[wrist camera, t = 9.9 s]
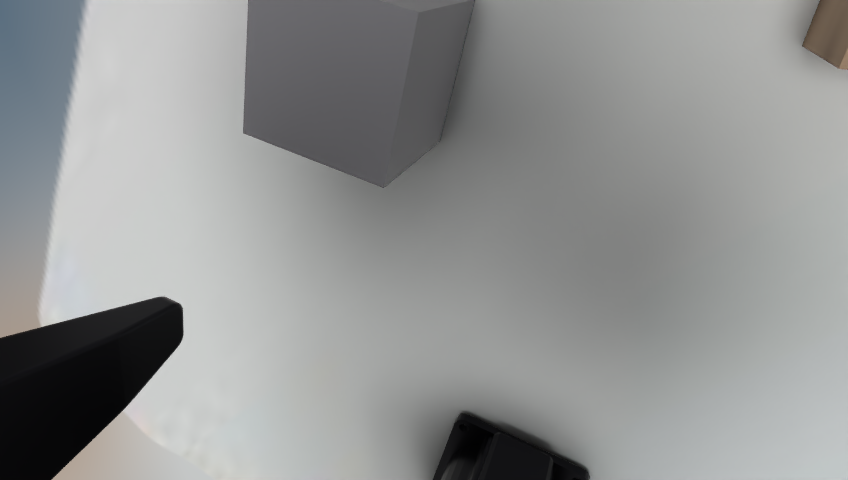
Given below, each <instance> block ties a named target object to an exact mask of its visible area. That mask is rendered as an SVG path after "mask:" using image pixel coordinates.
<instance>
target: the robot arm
mask: <svg viewBox="0 0 848 480" xmlns="http://www.w3.org/2000/svg"><path fill="white" fill-rule="evenodd" d="M182 338H183V308H182V306H181V304H179V303H177V302H175V301H173V300H171V299H169V298H167V297H156V298H152V299H148V300H145V301H141V302H137V303H133V304H129V305H125V306H121V307H118V308H114V309H110V310H106V311H102V312H98V313H94V314H91V315H87V316H83V317H79V318H75V319H71V320H67V321H64V322H60V323H56V324H52V325H48V326H44V327H40V328H37V329H33V330H29V331H25V332H21V333H17V334H14V335H10V336H6V337H2V338H0V480H51V479H53V477H55V476H56V475H57V474H58V473H59V472H60V471H61V470H62V469H63V467H65V466H66V465H67V464H68V463H69V462H70V461H71V460H72V459H73V458H74V457H75V456H76V455H77V454H78V453H79V452H80V451H81V450H83V449H84V448H85V447H86V446H87V445H88V444H89V443H90V442H91V441H92V439H94V438H95V437H96V436H97V435H98V434H99V433H100V432H101V431H102V430H103V429H104V428H105V427H106V426H107V425H108V424H109V423H110V422H111V421H112V420H113V419H115V417H117V416H118V414H120V413H121V412H122V411H123V410H124V409H125V408H126V407H127V405H128V404H129V403H130V402H131V401H132V400H133V399H134V398H135V397H136V395H137V394H138V393H139V392H140V391H141V390H142V388H143V387H144V386H145V385H146V384H147V382H148V381H149V380H150V379H151V378H152V377H153V375H154V374H155V373H156V372H157V371H158V370H159V368H160V367H161V366H162V365H163V364H164V363H165V361H166V360H167V359H168V358H169V357H170V355H171V354H172V353H173V352H174V351H175V350H176V348H177V347H178V346H179V344H180V343H181V341H182ZM464 424H466V425H467V426H466V425H464ZM577 478H579V479H577ZM589 478H590V476H589V474H588V472H587V471H586V470H584V469H583V468H581V467H579V466H576V465H574V464H572V463H570V462H568V461H566V460H564V459H562V458H559V457H557V456H555V455H553V454H551V453H549V452H547V451H545V450H542V449H540V448H538V447H536V446H534V445H532V444H530V443H528V442H526V441H523V440H521V439H519V438H517V437H515V436H513V435H511V434H509V433H506V432H504V431H502V430H500V429H498V428H496V427H494V426H492V425H489V424H487V423H485V422H483V421H481V420H479V419H477V418H475V417H473V416H470V415H468V414H460V415H459V416H458V417H457V419H456V421H455V423H454V426H453V429H452V431H451V434H450V436H449V439H448V442H447V444H446V447H445V449H444V452H443V455H442V457H441V460H440V462H439V465H438V468H437V470H436V473H435V475H434V478H433V480H589Z"/></svg>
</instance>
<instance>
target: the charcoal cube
mask: <svg viewBox="0 0 848 480" xmlns="http://www.w3.org/2000/svg"><path fill="white" fill-rule="evenodd" d="M474 2H475V0H248V21H247V47H246V73H245V99H244V124H243V133H244V134H247V135H249V136H252V137H254V138H257V139H260V140H262V141H265V142H267V143H270V144H272V145H275V146H278V147H280V148H283V149H285V150H288V151H290V152H293V153H295V154H298V155H301V156H303V157H306V158H308V159H311V160H313V161H316V162H319V163H321V164H324V165H326V166H329V167H331V168H334V169H337V170H339V171H342V172H344V173H347V174H349V175H352V176H355V177H357V178H360V179H362V180H365V181H367V182H370V183H373V184H375V185H378V186H380V187H383V188H384V187H385V186H387V185H388V184H389V183H390V182H391V181H393V180H394V179H395V178H396V177H397V176H399V175H400V174H401V173H402V172H403V171H405V170H406V169H407V168H408V167H409V166H411V165H412V164H413V163H414V162H415V161H417V160H418V159H419V158H420V157H421V156H423V155H424V154H425V153H426V152H427V151H429V150H430V149H431V148H432V147H433V146H435V145H436V144H437V143H438V142H439V141H440V138H441V134H442V130H443V126H444V122H445V118H446V114H447V110H448V106H449V102H450V98H451V94H452V90H453V86H454V82H455V78H456V74H457V70H458V66H459V62H460V58H461V54H462V50H463V46H464V42H465V38H466V34H467V30H468V26H469V22H470V18H471V14H472V10H473V6H474Z"/></svg>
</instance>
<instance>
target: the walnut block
mask: <svg viewBox="0 0 848 480" xmlns="http://www.w3.org/2000/svg"><path fill="white" fill-rule="evenodd" d="M802 46H803V47H805V48H806V49H808V50H810V51H811V52H813V53H814V54H816V55H818V56H819V57H821V58H823V59H824V60H826V61H827V62H829V63H831V64H832V65H834V66H835V67H837V68H839V69H847V70H848V0H820V2H819V4H818V7H817V9H816V12H815V14H814V17H813V19H812V22H811V25H810V27H809V30H808V32H807V35H806V37H805V40H804V42H803V45H802Z"/></svg>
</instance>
